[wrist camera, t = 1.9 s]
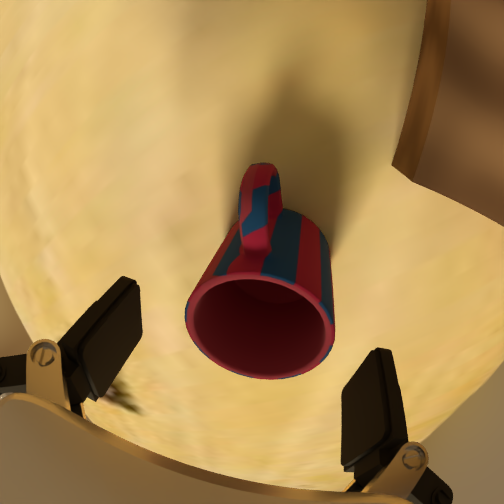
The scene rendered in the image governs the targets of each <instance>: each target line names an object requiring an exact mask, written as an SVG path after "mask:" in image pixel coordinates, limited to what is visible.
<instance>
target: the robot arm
mask: <svg viewBox="0 0 504 504" xmlns="http://www.w3.org/2000/svg"><path fill="white" fill-rule="evenodd" d="M142 333H143V330H142V317H141V302H140V287H139V285H137V282H136V280H133V279H131V278H128V277H125V276H122V277H120V278H119V279H118V280H117V281H116V282H115V283H114V284H113V285H112V286H111V287H110V288H109V289H108V290H107V292H106V293H105V294H104V295H103V296H102V297H101V298H100V299H99V300H98V301H95V302H94V303H93V304H92V305H91V306H90V307H89V308H88V309H87V311H86V312H85V313H84V314H83V315H82V316H81V317H80V318H79V319H78V320H77V321H76V323H75V324H74V325H73V326H72V327H71V328H70V329H69V330H68V331H67V333H66V334H65V335H64V336H63V337H62V338H61V339H60V341H59V342H58V343H55V342H54V341H52V340H49V339H41V340H38V341H36V342H34V343H33V344H32V345H31V346H30V347H29V349H28V351H27V354H22V355H15V356H9V357H1V358H0V504H452V500H453V493H452V490H451V488H450V487H449V486H448V485H447V484H446V483H445V482H444V481H443V480H441V479H440V478H439V477H438V476H437V475H436V474H435V473H434V472H433V471H431V470H430V469H429V468H428V467H427V465H428V460H429V457H428V453H427V451H426V449H425V448H424V446H422V445H421V444H420V443H418V442H408V434H407V427H406V420H405V413H404V407H403V401H402V396H401V390H400V386H399V384H398V379H397V374H396V369H395V364H394V360H393V355H392V352H391V350H389V349H384V348H378V347H377V348H376V349H375V350H372V351H370V353H369V354H368V356H367V357H366V358H365V360H364V361H363V363H362V364H361V365H360V367H359V368H358V370H357V371H356V372H355V374H354V375H353V376H352V378H351V379H350V380H349V382H348V383H347V384H346V385H345V387H344V388H343V390H342V395H341V402H342V436H341V465H342V466H344V472H354V479H353V480H352V481H351V483H350V484H349V485H348V486H347V487H346V488H345V489H344V490H343V491H342V492H334V491H319V490H306V489H297V488H288V487H281V486H274V485H268V484H262V483H257V482H252V481H247V480H242V479H238V478H233V477H229V476H225V475H221V474H217V473H214V472H210V471H207V470H203V469H200V468H197V467H193V466H190V465H187V464H184V463H181V462H179V461H176V460H173V459H170V458H167V457H165V456H162V455H160V454H157V453H155V452H152V451H150V450H147V449H145V448H142V447H140V446H138V445H136V444H133V443H131V442H129V441H127V440H125V439H123V438H121V437H119V436H117V435H115V434H113V433H111V432H109V431H107V430H105V429H103V428H101V427H99V426H97V425H95V424H93V423H91V422H89V421H88V420H86V415H85V410H84V405H83V402H84V401H85V399H86V398H87V397H88V398H90V399H91V400H93V401H95V402H96V401H97V399H98V398H99V397H103V396H104V395H105V393H106V391H107V390H108V388H109V387H110V385H111V384H112V382H113V380H114V379H115V377H116V376H117V374H118V373H119V371H120V370H121V368H122V366H123V365H124V363H125V362H126V360H127V359H128V357H129V356H130V354H131V353H132V351H133V350H134V348H135V347H136V345H137V344H138V342H139V341H140V339H141V337H142Z"/></svg>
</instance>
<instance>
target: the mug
mask: <svg viewBox="0 0 504 504" xmlns="http://www.w3.org/2000/svg"><path fill="white" fill-rule="evenodd" d="M238 215H239V220H238V221H237V222H236V223H235V224H234V225H233V227H232V228H231V230H230V231H229V233H228V235H227V236H226V238H225V239H224V241H223V243H222V244H221V246H220V247H219V249H218V251H217V252H216V254H215V256H214V257H213V259H212V261H211V262H210V264H209V265H208V267H207V269H206V270H205V272H204V274H203V275H202V277H201V279H200V280H199V282H198V284H197V285H196V287H195V289H194V290H193V292H192V294H191V295H190V297H189V299H188V301H187V304H186V308H185V323H186V328H187V330H188V333H189V335H190V337H191V339H192V340H193V342H194V344H195V345H196V346H197V347H198V348H199V350H200V351H201V352H202V353H203V354H204V355H206V356H207V357H208V358H209V359H210V360H212V361H213V362H215V363H216V364H218V365H219V366H221V367H223V368H225V369H227V370H229V371H231V372H234V373H236V374H239V375H243V376H247V377H251V378H257V379H269V380H273V379H285V378H290V377H295V376H298V375H301V374H304V373H306V372H308V371H310V370H312V369H313V368H315V367H316V366H318V365H319V364H320V363H321V362H322V361H323V360H324V359H325V358H326V357H327V356H328V354H329V352H330V351H331V349H332V347H333V343H334V340H335V315H334V298H333V283H332V271H331V260H330V251H329V247H328V243H327V241H326V239H325V236H324V235H323V233H322V232H321V230H320V229H319V228H318V227H317V226H316V225H315V224H314V223H313V222H312V221H311V220H309V219H308V218H306V217H305V216H303V215H301V214H299V213H297V212H294V211H291V210H287V209H283V205H282V198H281V187H280V180H279V174H278V171H277V169H276V168H275V166H274V165H273V164H270V163H257V164H252V165H251V166H250V167H249V168H248V169H247V171H246V173H245V174H244V177H243V179H242V183H241V187H240V193H239V205H238Z"/></svg>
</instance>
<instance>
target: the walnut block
mask: <svg viewBox="0 0 504 504" xmlns="http://www.w3.org/2000/svg"><path fill="white" fill-rule="evenodd" d="M392 166H393V167H395V168H396V169H397V170H398V171H400V172H401V173H402V174H403V175H405V176H406V177H407V178H408V179H410V180H411V181H412V182H414V183H416V184H419V185H421V186H424V187H426V188H428V189H430V190H433V191H435V192H437V193H439V194H442V195H444V196H446V197H448V198H450V199H452V200H454V201H456V202H459V203H461V204H463V205H465V206H467V207H469V208H471V209H473V210H474V211H476V212H478V213H480V214H482V215H484V216H486V217H488V218H489V219H491V220H493V221H495V222H497V223H498V224H500V225H502V226H504V0H427V6H426V15H425V23H424V30H423V37H422V44H421V50H420V55H419V61H418V66H417V71H416V76H415V80H414V85H413V89H412V94H411V98H410V102H409V106H408V110H407V114H406V118H405V121H404V125H403V129H402V132H401V136H400V139H399V143H398V146H397V149H396V153H395V156H394V159H393V162H392Z"/></svg>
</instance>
